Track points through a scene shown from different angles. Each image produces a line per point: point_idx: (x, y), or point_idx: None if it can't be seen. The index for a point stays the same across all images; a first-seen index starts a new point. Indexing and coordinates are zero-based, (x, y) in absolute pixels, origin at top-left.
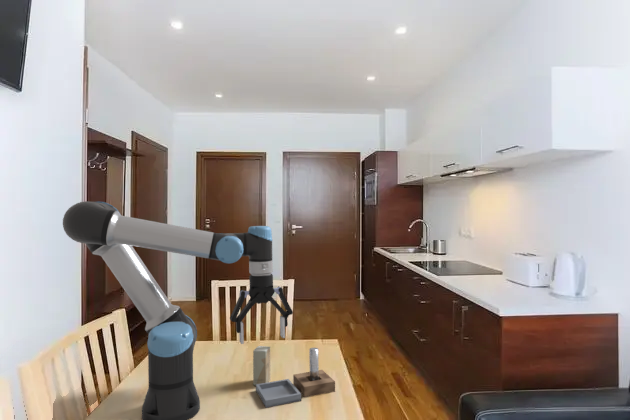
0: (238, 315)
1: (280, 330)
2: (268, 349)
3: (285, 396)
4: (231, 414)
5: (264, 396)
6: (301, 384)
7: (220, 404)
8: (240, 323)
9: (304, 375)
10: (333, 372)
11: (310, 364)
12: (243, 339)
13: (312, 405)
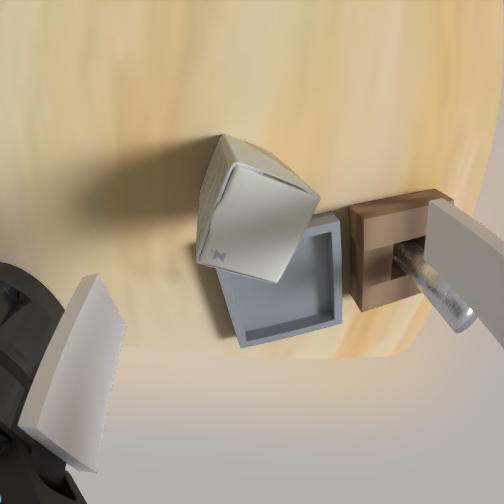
0: (7, 495)
1: (455, 225)
2: (301, 235)
3: (297, 333)
4: (153, 349)
5: (238, 330)
6: (361, 291)
7: None
8: (66, 455)
9: (394, 235)
10: (472, 152)
11: (424, 293)
12: (119, 349)
13: (351, 329)
